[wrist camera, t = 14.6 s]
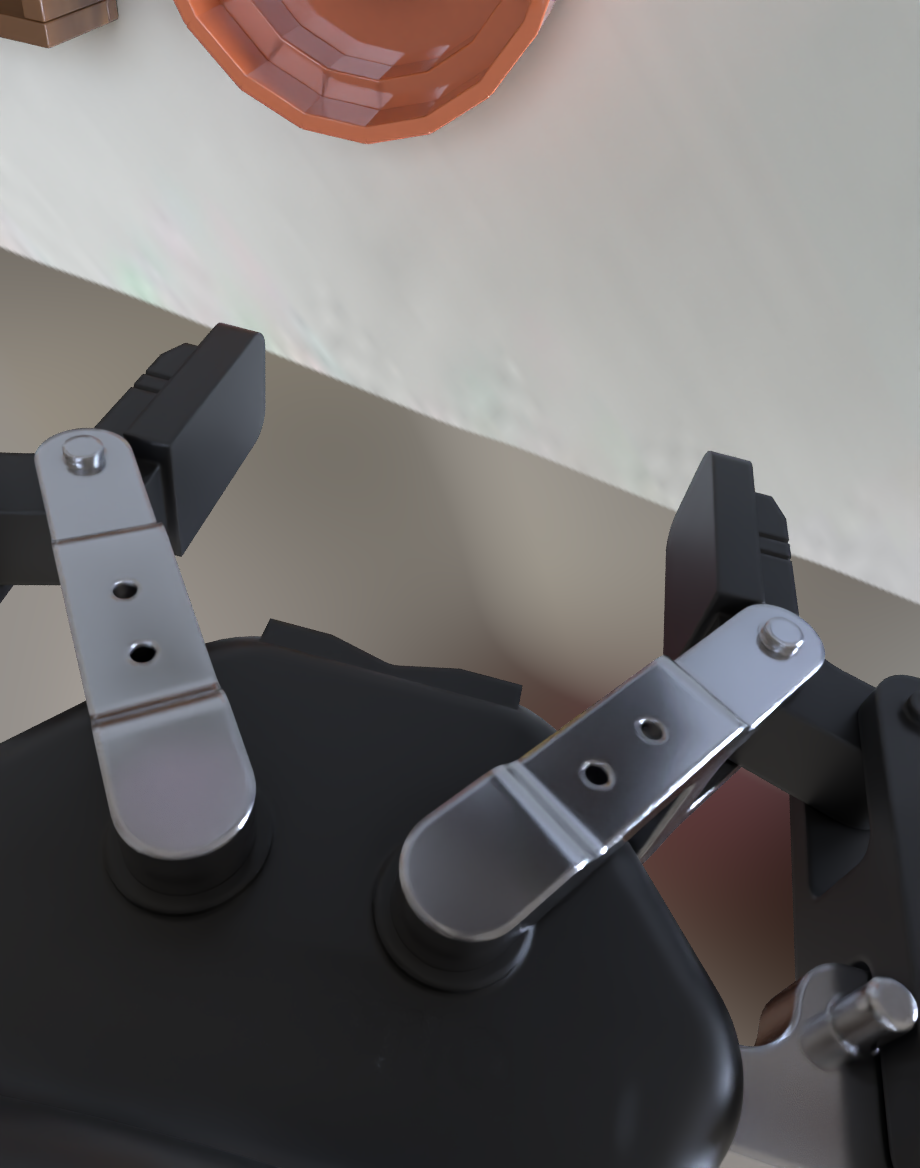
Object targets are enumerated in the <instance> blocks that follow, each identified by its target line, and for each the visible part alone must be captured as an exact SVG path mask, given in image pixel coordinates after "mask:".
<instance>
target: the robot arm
mask: <svg viewBox="0 0 920 1168" xmlns="http://www.w3.org/2000/svg"><path fill="white" fill-rule="evenodd" d="M264 416H265V340H264V337H263V335H262V334H261V333H259V332H255V331H251V330H247V329H243V328H240V327H236V326H232V325H228V324H224V323H218V324H217V325H216V326H215V327H214V328H213V329H212V330H211V331H210V333H209V334H208V335H207V336H206V337H205V339H204V340H203V341H202V342H201V343H200V344H199V345H198V346H196V345H192V344H188V343H184V344H182V345H180V346H178V347H175V348H173V349H171V350H169V351H167V352H165V353H163V354H161V355H160V356H159V357H158V358H157V359H156V360H155V361H154V363H153V364H152V365H151V366H150V367H149V368H148V369H147V370H146V374H143V375H142V376H141V377H140V378H139V379H138V380H137V381H136V382H135V384H134V387H131V388H130V389H129V390H128V391H127V392H126V393H125V394H124V396H122V398H121V399H120V400H119V401H118V402H117V403H116V404H115V405H114V406H113V407H112V409H111V410H110V411H109V412H108V413H107V414H106V415H105V416H104V417H103V418H102V419H101V421H100V422H99V423H98V424H97V425H96V426H95V427H94V428H80V429H79V428H78V429H72V430H67V431H64V432H61V433H58V434H56V435H53V436H52V437H50V438H48V439H47V440H45V441H44V442H43V443H42V444H41V445H40V446H39V447H38V449H37V451H36V452H35V453H0V603H1V602H2V600H3V599H4V597H5V596H6V595H7V593H8V592H9V591H10V589H11V588H12V587H13V585H61V589H62V593H63V598H64V603H65V607H66V611H67V616H68V620H69V625H70V630H71V634H72V638H73V643H74V648H75V652H76V657H77V661H78V666H79V670H80V675H81V679H82V684H83V688H84V693H85V697H86V701H84V702H82V703H80V704H78V705H76V706H75V707H72V708H70V709H68V710H66V711H64V712H62V713H60V714H58V715H56V716H54V717H52V718H50V719H48V720H46V721H44V722H42V723H40V724H38V725H36V726H34V727H32V728H30V729H28V730H26V731H24V732H23V733H20V734H18V735H16V736H14V737H12V738H10V739H8V740H6V741H4V742H2V743H0V1168H920V678H916V677H913V676H908V675H894V676H890V677H888V678H886V679H884V680H883V681H882V682H881V683H880V684H879V685H878V686H877V687H876V688H875V687H873V686H871V685H869V684H867V683H865V682H864V681H861V680H860V679H858V678H856V677H854V676H852V675H850V674H848V673H846V672H844V671H842V670H841V669H839V668H837V667H836V666H834V665H833V664H831V663H830V662H828V661H827V660H826V659H824V658H825V650H824V646H823V643H822V641H821V639H820V637H819V635H818V634H817V633H816V631H815V630H814V629H813V628H812V627H811V626H810V625H809V624H808V623H807V622H806V621H804V620H803V619H802V618H800V617H799V612H798V605H797V598H796V590H795V582H794V575H793V567H792V561H790V558H791V552H790V545H789V544H788V541H789V537H788V530H787V522H786V518H785V516H784V515H783V513H782V512H781V510H780V509H779V507H778V505H777V504H776V502H775V501H774V499H773V498H772V497H771V496H767V495H764V494H760V493H756V492H755V488H754V478H753V467H752V463H751V462H750V461H747V460H743V459H739V458H736V457H732V456H728V455H724V454H720V453H716V452H713V451H708V452H707V453H706V454H705V456H704V457H703V459H702V461H701V463H700V465H699V467H698V469H697V471H696V473H695V475H694V477H693V479H692V481H691V484H690V486H689V488H688V490H687V492H686V494H685V496H684V498H683V500H682V502H681V504H680V507H679V509H678V511H677V513H676V515H675V517H674V520H673V523H672V525H671V529H670V532H669V536H668V541H667V547H666V573H665V575H666V577H665V611H664V648H663V656H660V657H658V658H657V659H655V660H654V661H653V662H651V663H650V664H648V665H647V666H646V667H644V668H643V669H642V670H640V671H639V672H637V673H636V674H635V675H633V676H632V677H630V678H629V679H628V680H626V681H625V682H624V683H622V684H621V685H619V686H618V687H617V688H616V689H614V690H613V691H611V692H610V693H609V694H607V695H606V696H604V697H603V698H602V699H600V700H599V701H598V702H596V703H595V704H593V705H592V706H591V707H589V708H588V709H587V710H585V711H584V712H582V713H581V714H580V715H578V716H577V717H576V718H574V719H573V720H571V721H570V722H569V723H567V724H566V725H565V726H563V727H562V728H560V729H559V730H558V731H556V730H555V729H554V728H553V727H552V726H551V725H549V724H548V723H547V722H546V721H544V720H543V719H542V718H540V717H539V716H538V715H536V714H534V713H533V712H532V711H530V710H528V709H527V708H525V707H523V706H520V705H519V702H520V696H521V691H522V685H519V684H515V683H512V682H508V681H504V680H500V679H497V678H493V677H489V676H485V675H482V674H477V673H474V672H470V671H466V670H462V669H454V668H435V667H415V666H398V665H392V664H389V663H386V662H384V661H382V660H380V659H378V658H376V657H374V656H372V655H371V654H369V653H367V652H365V651H363V650H361V649H359V648H357V647H355V646H353V645H351V644H349V643H347V642H345V641H343V640H341V639H339V638H337V637H335V636H333V635H331V634H327V633H323V632H319V631H316V630H312V629H308V628H304V627H301V626H297V625H293V624H289V623H286V622H282V621H278V620H274V619H270V620H269V622H268V624H267V626H266V628H265V630H264V632H263V634H262V636H261V637H258V636H249V637H234V638H228V639H221V640H218V641H213V642H209V643H204V640H203V637H202V634H201V631H200V628H199V625H198V622H197V619H196V617H195V613H194V610H193V608H192V605H191V602H190V599H189V596H188V593H187V590H186V588H185V584H184V581H183V579H182V576H181V573H180V570H179V567H178V564H177V561H176V558H175V555H177V556H182V555H183V554H184V552H185V551H186V549H187V548H188V546H189V544H190V543H191V541H192V540H193V538H194V537H195V535H196V534H197V532H198V530H199V529H200V528H201V526H202V524H203V523H204V521H205V520H206V518H207V517H208V515H209V514H210V512H211V511H212V509H213V507H214V506H215V504H216V503H217V501H218V500H219V498H220V497H221V495H222V494H223V492H224V490H225V489H226V487H227V486H228V484H229V483H230V481H231V480H232V478H233V477H234V475H235V474H236V472H237V470H238V469H239V467H240V466H241V464H242V463H243V461H244V460H245V458H246V456H247V455H248V453H249V452H250V450H251V449H252V447H253V446H254V444H255V442H256V441H257V439H258V437H259V435H260V432H261V429H262V426H263V421H264ZM741 767H743V768H745V769H746V770H748V771H750V772H752V773H754V774H755V775H757V776H759V777H761V778H762V779H764V780H766V781H767V782H769V783H771V784H773V785H774V786H776V787H778V788H780V789H781V790H783V791H785V792H787V793H788V794H789V795H790V825H791V856H792V885H793V886H792V887H793V917H794V945H795V946H794V948H795V978H796V981H795V982H794V983H793V984H791V985H790V986H788V987H787V988H786V989H784V990H783V991H782V992H780V993H779V994H777V995H776V996H775V997H773V998H772V999H771V1000H770V1001H769V1002H768V1003H767V1004H766V1006H765V1008H764V1009H763V1011H762V1014H761V1017H760V1021H759V1027H758V1034H757V1039H756V1042H755V1045H754V1046H743V1045H739V1043H738V1038H737V1035H736V1031H735V1028H734V1025H733V1022H732V1019H731V1017H730V1015H729V1012H728V1010H727V1008H726V1006H725V1004H724V1002H723V1000H722V998H721V996H720V994H719V993H718V991H717V989H716V987H715V986H714V984H713V982H712V981H711V979H710V977H709V976H708V974H707V972H706V971H705V969H704V967H703V966H702V964H701V962H700V961H699V959H698V957H697V956H696V954H695V952H694V951H693V949H692V947H691V946H690V944H689V942H688V941H687V939H686V937H685V936H684V934H683V932H682V931H681V929H680V927H679V925H678V924H677V922H676V920H675V919H674V917H673V915H672V914H671V912H670V910H669V909H668V907H667V905H666V904H665V902H664V900H663V899H662V897H661V895H660V894H659V892H658V890H657V889H656V887H655V885H654V884H653V882H652V880H651V879H650V877H649V875H648V874H647V872H646V870H645V869H644V867H643V865H642V864H643V863H644V862H645V861H646V860H647V859H648V858H649V857H650V856H651V855H652V854H653V853H654V852H655V851H656V850H657V848H658V847H659V846H660V845H661V844H662V843H663V842H664V841H665V840H666V838H667V837H668V836H669V835H670V834H671V833H672V832H673V831H674V830H675V829H676V828H677V827H678V826H679V825H680V824H681V823H682V822H683V821H684V820H685V819H686V818H687V817H688V816H689V815H691V813H693V812H694V811H695V810H696V809H697V808H698V807H699V806H700V805H701V804H702V803H703V802H704V801H706V800H707V799H708V798H709V797H710V796H711V795H712V794H713V793H714V792H715V791H716V790H717V789H718V788H719V787H720V786H721V785H723V784H724V783H725V782H726V781H727V780H728V779H729V778H730V777H731V776H732V775H733V774H734V773H736V772H737V771H738V770H739V769H740V768H741Z"/></svg>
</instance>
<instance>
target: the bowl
mask: <svg viewBox="0 0 920 1168" xmlns="http://www.w3.org/2000/svg"><path fill="white" fill-rule="evenodd" d="M173 1H174V3H175V5H176V7H177V9H178V11H179V13H180V15H181V17H182V19H183V21H184V23H185V24H186V25H187V28H188V29H189V30H190V31H191V32H192V33H193V35H194V36H195V37H196V38H197V39H198V40H199V42H200V43H201V44H202V45H203V46H204V47H205V49H206V50H207V51H208V52H209V53H210V54H211V56H212V57H213V58H214V59H215V60H216V61H217V63H218V64H219V65H220V66H221V67H222V68H223V70H224V71H225V72H226V73H227V74H228V75H229V77H230V78H231V79H232V80H233V81H234V82H235V84H236V85H237V86H238V87H239V88H240V89H241V90H242V91H244V92H245V93H247V94H248V95H250V96H251V97H253V98H254V99H256V100H258V101H259V102H261V103H262V104H264V105H265V106H267V107H268V108H270V109H271V110H273V111H275V112H276V113H278V114H279V115H281V116H282V117H284V118H285V119H287V120H288V121H290V122H292V123H293V124H295V125H296V126H298V127H299V128H302V129H304V130H308V131H313V132H317V133H321V134H325V135H329V136H334V137H338V138H342V139H346V140H351V141H355V142H359V143H363V144H366V143H367V144H372V143H378V142H385V141H391V140H397V139H403V138H409V137H416V136H422V135H428V134H431V133H433V132H435V131H437V130H438V129H440V128H441V127H443V126H444V125H446V124H448V123H449V122H451V121H452V120H454V119H456V118H457V117H459V116H460V115H462V114H464V113H465V112H467V111H468V110H470V109H472V108H473V107H475V106H476V105H478V104H480V103H481V102H483V101H484V100H486V99H488V98H489V96H491V95H492V94H493V92H494V91H495V90H496V88H497V87H498V86H499V85H500V83H501V82H502V81H503V79H504V78H505V77H506V75H507V74H508V73H509V71H510V70H511V69H512V67H513V66H514V65H515V63H516V62H517V61H518V59H519V58H520V57H521V55H522V54H523V53H524V51H525V50H526V49H527V48H528V46H529V45H530V44H531V42H532V41H533V40H534V38H535V37H536V36H537V34H538V33H539V31H540V29H541V27H542V26H543V24H544V22H545V20H546V19H547V17H548V15H549V13H550V12H551V10H552V8H553V6H554V3H555V1H556V0H173Z"/></svg>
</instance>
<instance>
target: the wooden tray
mask: <svg viewBox="0 0 920 1168" xmlns="http://www.w3.org/2000/svg"><path fill="white" fill-rule="evenodd" d="M116 19H118V13H117V4H116V0H0V37H2V38H7V39H11V40H15V41H19V42H24V43H28V44H32V45H36V46H41V47H45V48H51V47H53V46H56V45H58V44H60V43H63V42H65V41H68V40H70V39H72V38H75V37H77V36H79V35H82V34H84V33H86V32H89V31H91V30H93V29H96V28H98V27H100V26H103V25H105V24H108V23H109V22H112V21H114V20H116Z"/></svg>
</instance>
